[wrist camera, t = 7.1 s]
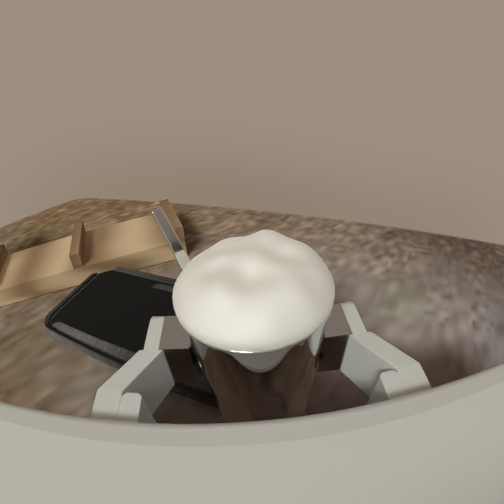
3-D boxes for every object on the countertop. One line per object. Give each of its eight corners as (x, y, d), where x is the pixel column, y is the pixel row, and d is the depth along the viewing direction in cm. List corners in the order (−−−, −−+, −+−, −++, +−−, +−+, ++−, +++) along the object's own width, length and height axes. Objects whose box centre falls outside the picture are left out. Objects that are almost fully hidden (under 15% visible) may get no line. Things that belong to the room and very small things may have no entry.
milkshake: (230, 368, 16) (199, 182, 11) (327, 400, 14) (356, 202, 9) (182, 433, 13) (100, 245, 8) (290, 480, 11) (305, 301, 5)
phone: (245, 407, 13) (38, 322, 18) (246, 419, 14) (44, 334, 18) (290, 301, 20) (105, 261, 24) (289, 314, 20) (108, 273, 25)
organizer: (171, 224, 31) (167, 199, 29) (187, 256, 26) (182, 226, 24) (-47, 286, 22) (-57, 265, 21) (-65, 325, 17) (-78, 301, 16)
